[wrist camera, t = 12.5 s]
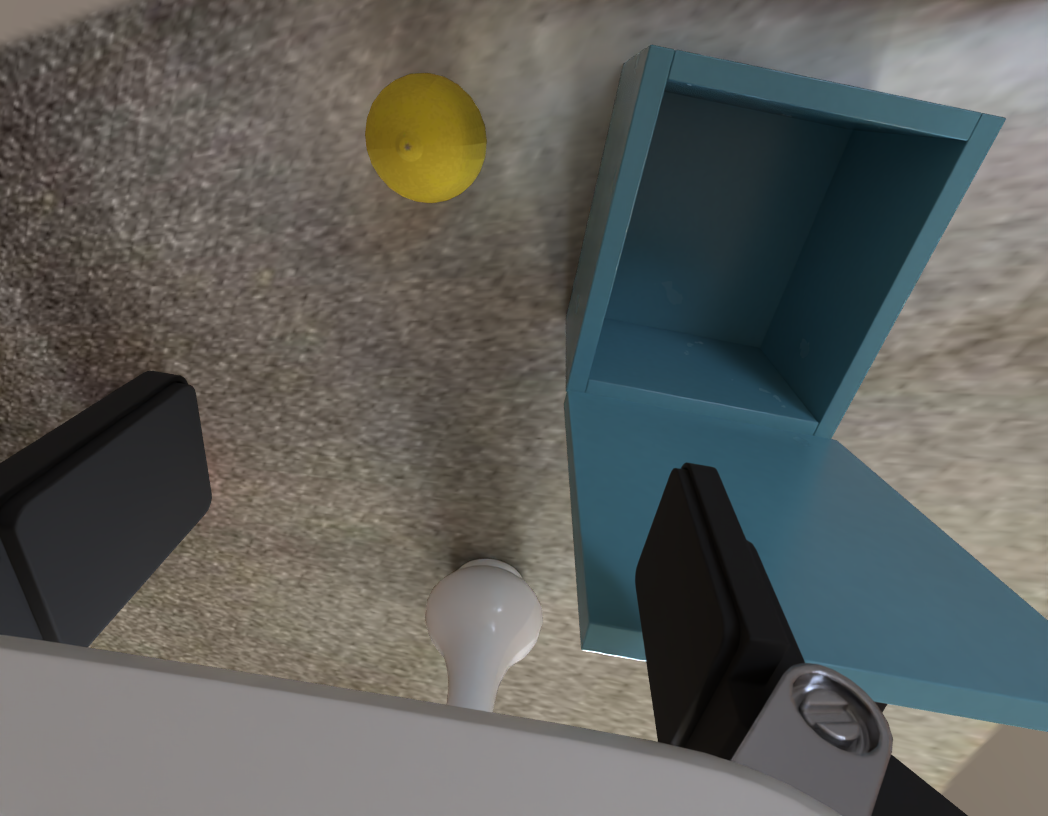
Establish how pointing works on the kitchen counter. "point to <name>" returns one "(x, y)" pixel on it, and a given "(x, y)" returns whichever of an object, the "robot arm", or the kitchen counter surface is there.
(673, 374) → the teal box
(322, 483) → the kitchen counter surface
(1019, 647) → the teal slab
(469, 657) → the flower vase
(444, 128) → the lemon
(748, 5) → the kitchen counter surface
